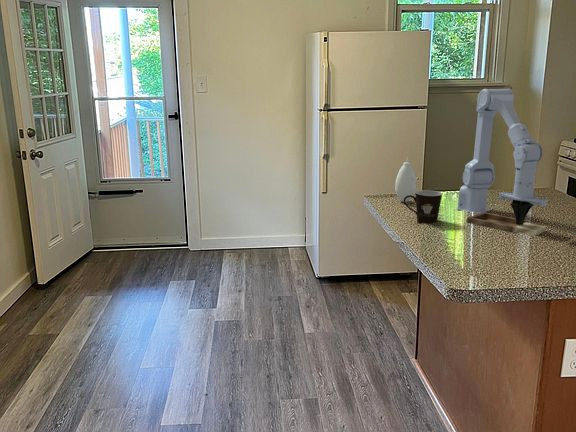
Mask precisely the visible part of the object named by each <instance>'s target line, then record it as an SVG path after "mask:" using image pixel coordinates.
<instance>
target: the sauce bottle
mask: <svg viewBox="0 0 576 432" xmlns="http://www.w3.org/2000/svg"><path fill="white" fill-rule="evenodd" d="M408 157H409V156H408V155H407V156H406V161H405V162H403V163H402V164H403V165H402V166H401V167H400V168H399V171H398V173H397V176H396V179H395V183H394V186H395V187H394V188H395V189H394V190H395V194H396V197H397V199H399V200H400V201H401V202H403V203H404V198H405V197H406V196H408V195H411V196H414V197H415V195H416V189H417V182H416V181H417V179H416V175H415V171H414V169H413V167H412V165H411V162H408V159H409V158H408ZM412 199H413V198H412V197H408V198H406V200H405V202H406V203H408V202H410V200H412Z"/></svg>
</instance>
